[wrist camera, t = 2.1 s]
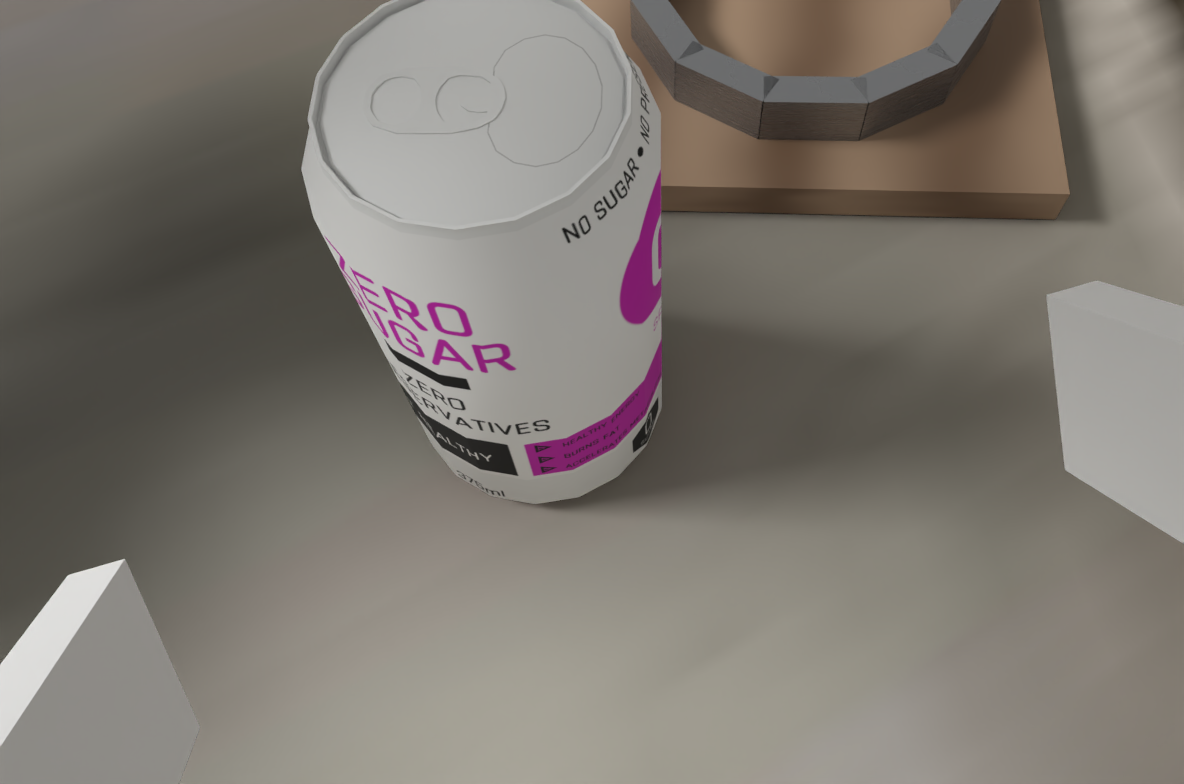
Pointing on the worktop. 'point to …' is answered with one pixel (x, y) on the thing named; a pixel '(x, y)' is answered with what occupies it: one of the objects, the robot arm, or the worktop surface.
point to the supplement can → (500, 231)
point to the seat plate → (886, 159)
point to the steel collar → (808, 79)
